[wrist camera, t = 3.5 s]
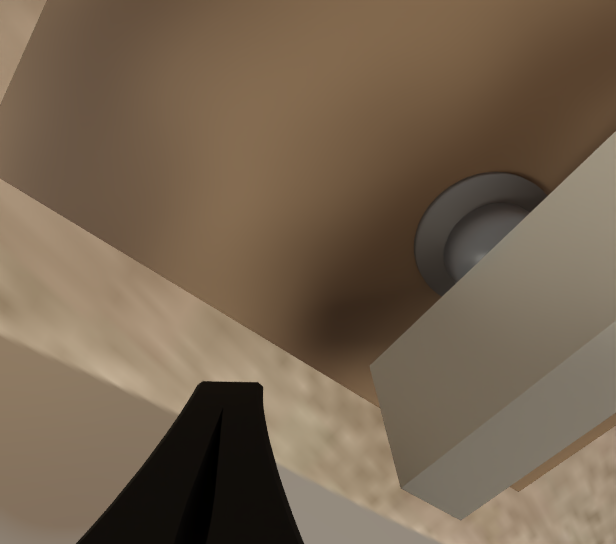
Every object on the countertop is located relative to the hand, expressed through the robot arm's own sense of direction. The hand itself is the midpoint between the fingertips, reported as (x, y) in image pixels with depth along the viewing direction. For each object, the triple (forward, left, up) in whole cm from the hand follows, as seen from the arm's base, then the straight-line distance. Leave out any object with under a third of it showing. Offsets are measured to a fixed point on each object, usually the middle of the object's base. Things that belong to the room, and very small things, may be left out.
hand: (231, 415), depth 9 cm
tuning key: (-7, -6, -3) cm, 9 cm away
